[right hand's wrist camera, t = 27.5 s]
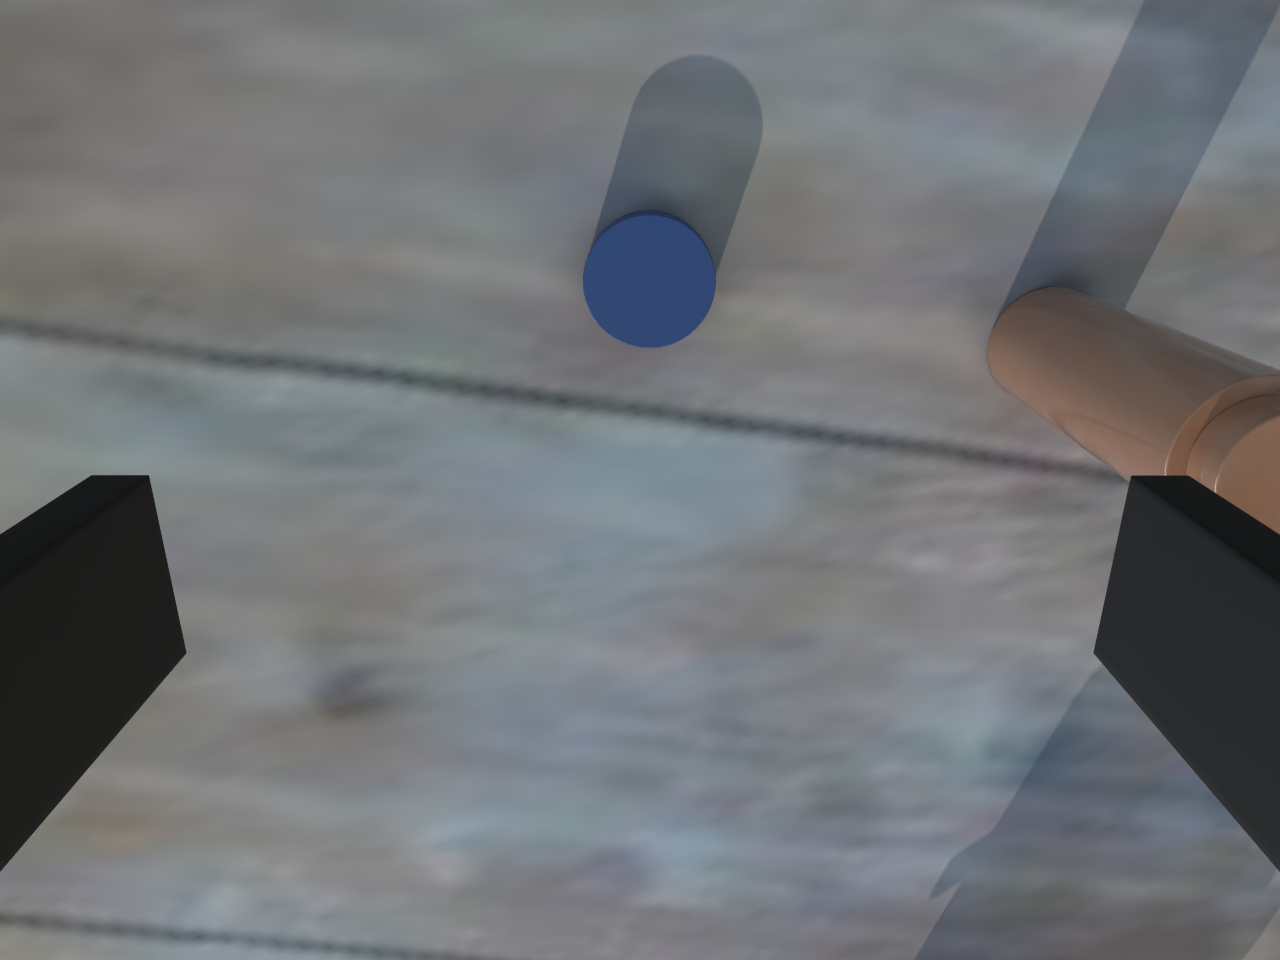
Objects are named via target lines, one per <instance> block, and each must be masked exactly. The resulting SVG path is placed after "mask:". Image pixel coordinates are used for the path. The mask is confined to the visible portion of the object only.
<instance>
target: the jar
mask: <svg viewBox="0 0 1280 960" xmlns="http://www.w3.org/2000/svg"><path fill="white" fill-rule="evenodd" d="M988 362H989V367H990V369H991V372H992V374H993V376H994V378H995V380H996V381H997V383H998V384H999V385H1000V386H1001V387H1002V388H1003V389H1004V390H1005V391H1007V392H1008V393H1009V394H1011V395H1012V396H1013V397H1015V398H1016V399H1017V400H1019V401H1020V402H1022V403H1023V404H1024V405H1026V406H1027V407H1028V408H1030V409H1031V410H1032V411H1034V412H1035V413H1036V414H1038V415H1039V416H1041V417H1042V418H1043V419H1045V420H1046V421H1047V422H1049V423H1050V424H1051V425H1053V426H1054V427H1055V428H1057V429H1058V430H1059V431H1061V432H1062V433H1064V434H1065V435H1066V436H1068V437H1069V438H1070V439H1072V440H1073V441H1074V442H1076V443H1077V444H1078V445H1080V446H1081V447H1082V448H1084V449H1085V450H1087V451H1088V452H1089V453H1091V454H1092V455H1093V456H1095V457H1096V458H1097V459H1099V460H1100V461H1101V462H1103V463H1104V464H1105V465H1107V466H1108V467H1110V468H1111V469H1112V470H1114V471H1115V472H1116V473H1118V474H1119V475H1120V476H1122V477H1123V478H1124V479H1126V480H1127V481H1128V482H1130V478H1131V475H1189V476H1190V477H1192V478H1193V479H1195V480H1196V481H1198V482H1199V483H1201V484H1203V485H1204V486H1206V487H1207V488H1209V489H1210V490H1212V491H1213V492H1215V493H1216V494H1218V495H1220V496H1221V497H1223V498H1224V499H1226V500H1227V501H1229V502H1230V503H1232V504H1233V505H1235V506H1237V507H1238V508H1240V509H1241V510H1243V511H1244V512H1246V513H1247V514H1249V515H1250V516H1252V517H1254V518H1255V519H1257V520H1258V521H1260V522H1261V523H1263V524H1264V525H1266V526H1267V527H1269V528H1271V529H1272V530H1274V531H1275V532H1277V533H1278V534H1280V370H1279V369H1276V368H1274V367H1271V366H1269V365H1266V364H1263V363H1261V362H1258V361H1256V360H1253V359H1251V358H1248V357H1245V356H1243V355H1240V354H1238V353H1235V352H1233V351H1230V350H1228V349H1225V348H1222V347H1220V346H1217V345H1215V344H1212V343H1210V342H1207V341H1204V340H1202V339H1199V338H1197V337H1194V336H1192V335H1189V334H1186V333H1184V332H1181V331H1179V330H1176V329H1174V328H1171V327H1168V326H1166V325H1163V324H1161V323H1158V322H1156V321H1153V320H1151V319H1148V318H1145V317H1143V316H1140V315H1138V314H1135V313H1133V312H1130V311H1127V310H1125V309H1122V308H1120V307H1117V306H1115V305H1112V304H1109V303H1107V302H1104V301H1102V300H1099V299H1097V298H1094V297H1091V296H1089V295H1086V294H1084V293H1081V292H1079V291H1076V290H1073V289H1070V288H1065V287H1047V288H1041V289H1038V290H1035V291H1032V292H1030V293H1028V294H1025V295H1024V296H1022V297H1020V298H1019V299H1017V300H1016V301H1015V302H1013V303H1012V304H1011V305H1010V306H1009V307H1008V308H1007V309H1006V310H1005V311H1004V312H1003V313H1002V315H1001V316H1000V317H999V319H998V321H997V322H996V324H995V326H994V328H993V330H992V333H991V336H990V339H989V344H988Z"/></svg>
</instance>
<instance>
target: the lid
mask: <svg viewBox="0 0 1280 960" xmlns="http://www.w3.org/2000/svg"><path fill="white" fill-rule="evenodd" d="M715 284H716V280H715V270H714V264H713V261H712V258H711V255H710V253H709V251H708V249H707V247H706V245H705V243H704V242H703V240H702V239H701V237H700V236H699V235H698V233H697V232H696V231H695V230H694V229H693V228H692V227H691V226H690V225H689V224H687V223H686V222H684V221H683V220H681V219H680V218H678V217H675V216H673V215H671V214H668V213H664V212H659V211H639V212H635V213H631V214H628V215H625V216H623V217H621V218H619V219H617V220H615V221H614V222H613V223H611V224H610V225H609V226H607V227H606V228H605V229H604V230H603V231H602V232H601V234H600V235H599V236H598V237H597V239H596V241H595V242H594V244H593V246H592V248H591V250H590V252H589V255H588V258H587V261H586V264H585V268H584V275H583V287H584V295H585V299H586V302H587V305H588V308H589V310H590V312H591V314H592V316H593V317H594V319H595V320H596V322H597V323H598V324H599V325H600V326H601V328H602V329H603V330H604V331H606V332H607V333H608V334H609V335H610V336H612V337H613V338H615V339H617V340H618V341H621V342H623V343H625V344H628V345H631V346H635V347H640V348H659V347H663V346H668V345H670V344H673V343H676V342H678V341H680V340H682V339H683V338H685V337H686V336H688V335H689V334H690V333H692V332H693V331H694V330H695V329H696V328H697V327H698V326H699V325H700V324H701V322H702V321H703V319H704V318H705V316H706V315H707V313H708V311H709V309H710V307H711V304H712V301H713V297H714V293H715Z"/></svg>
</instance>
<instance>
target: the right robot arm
mask: <svg viewBox="0 0 1280 960" xmlns="http://www.w3.org/2000/svg"><path fill="white" fill-rule="evenodd" d="M185 654H186V649H185V644H184V639H183V634H182V630H181V625H180V620H179V616H178V611H177V606H176V601H175V597H174V592H173V587H172V582H171V578H170V573H169V568H168V564H167V559H166V554H165V549H164V545H163V540H162V535H161V530H160V526H159V521H158V516H157V512H156V507H155V502H154V497H153V493H152V488H151V483H150V478H149V475H91V476H90V477H88V478H87V479H85V480H84V481H82V482H81V483H79V484H77V485H76V486H74V487H73V488H71V489H70V490H68V491H67V492H65V493H64V494H62V495H60V496H59V497H57V498H56V499H54V500H53V501H51V502H50V503H48V504H47V505H45V506H43V507H42V508H40V509H39V510H37V511H36V512H34V513H33V514H31V515H30V516H28V517H26V518H25V519H23V520H22V521H20V522H19V523H17V524H16V525H14V526H13V527H11V528H9V529H8V530H6V531H5V532H3V533H2V534H0V871H1V870H2V869H3V868H4V867H5V865H6V864H7V863H8V862H9V861H10V860H11V858H12V857H13V856H14V855H15V854H16V853H17V851H18V850H19V849H20V848H21V847H22V845H23V844H24V843H25V842H26V841H27V840H28V838H29V837H30V836H31V835H32V834H33V833H34V831H35V830H36V829H37V828H38V827H39V826H40V824H41V823H42V822H43V821H44V820H45V818H46V817H47V816H48V815H49V814H50V813H51V811H52V810H53V809H54V808H55V807H56V806H57V804H58V803H59V802H60V801H61V800H62V799H63V797H64V796H65V795H66V794H67V793H68V791H69V790H70V789H71V788H72V787H73V786H74V784H75V783H76V782H77V781H78V780H79V779H80V777H81V776H82V775H83V774H84V773H85V772H86V770H87V769H88V768H89V767H90V766H91V764H92V763H93V762H94V761H95V760H96V759H97V757H98V756H99V755H100V754H101V753H102V752H103V750H104V749H105V748H106V747H107V746H108V745H109V743H110V742H111V741H112V740H113V739H114V737H115V736H116V735H117V734H118V733H119V732H120V730H121V729H122V728H123V727H124V726H125V725H126V723H127V722H128V721H129V720H130V719H131V718H132V716H133V715H134V714H135V713H136V712H137V710H138V709H139V708H140V707H141V706H142V705H143V703H144V702H145V701H146V700H147V699H148V698H149V696H150V695H151V694H152V693H153V692H154V691H155V689H156V688H157V687H158V686H159V685H160V683H161V682H162V681H163V680H164V679H165V678H166V676H167V675H168V674H169V673H170V672H171V671H172V669H173V668H174V667H175V666H176V665H177V664H178V662H179V661H180V660H181V659H182V658H183V656H184V655H185ZM1094 654H1095V655H1096V656H1097V658H1098V659H1099V660H1100V661H1101V662H1102V664H1103V665H1104V666H1105V667H1106V668H1107V669H1108V671H1109V672H1110V673H1111V674H1112V675H1113V676H1114V678H1115V679H1116V680H1117V681H1118V682H1119V683H1120V685H1121V686H1122V687H1123V688H1124V689H1125V691H1126V692H1127V693H1128V694H1129V695H1130V696H1131V698H1132V699H1133V700H1134V701H1135V702H1136V703H1137V705H1138V706H1139V707H1140V708H1141V709H1142V710H1143V712H1144V713H1145V714H1146V715H1147V716H1148V718H1149V719H1150V720H1151V721H1152V722H1153V723H1154V725H1155V726H1156V727H1157V728H1158V729H1159V730H1160V732H1161V733H1162V734H1163V735H1164V736H1165V737H1166V739H1167V740H1168V741H1169V742H1170V743H1171V745H1172V746H1173V747H1174V748H1175V749H1176V750H1177V752H1178V753H1179V754H1180V755H1181V756H1182V757H1183V759H1184V760H1185V761H1186V762H1187V763H1188V764H1189V766H1190V767H1191V768H1192V769H1193V770H1194V772H1195V773H1196V774H1197V775H1198V776H1199V777H1200V779H1201V780H1202V781H1203V782H1204V783H1205V784H1206V786H1207V787H1208V788H1209V789H1210V790H1211V791H1212V793H1213V794H1214V795H1215V796H1216V797H1217V799H1218V800H1219V801H1220V802H1221V803H1222V804H1223V806H1224V807H1225V808H1226V809H1227V810H1228V811H1229V813H1230V814H1231V815H1232V816H1233V817H1234V818H1235V820H1236V821H1237V822H1238V823H1239V824H1240V826H1241V827H1242V828H1243V829H1244V830H1245V831H1246V833H1247V834H1248V835H1249V836H1250V837H1251V838H1252V840H1253V841H1254V842H1255V843H1256V844H1257V845H1258V847H1259V848H1260V849H1261V850H1262V851H1263V853H1264V854H1265V855H1266V856H1267V857H1268V858H1269V860H1270V861H1271V862H1272V863H1273V864H1274V865H1275V867H1276V868H1277V869H1278V870H1279V871H1280V534H1278V533H1277V532H1275V531H1274V530H1272V529H1271V528H1269V527H1267V526H1266V525H1264V524H1263V523H1261V522H1260V521H1258V520H1257V519H1255V518H1254V517H1252V516H1250V515H1249V514H1247V513H1246V512H1244V511H1243V510H1241V509H1240V508H1238V507H1237V506H1235V505H1233V504H1232V503H1230V502H1229V501H1227V500H1226V499H1224V498H1223V497H1221V496H1220V495H1218V494H1216V493H1215V492H1213V491H1212V490H1210V489H1209V488H1207V487H1206V486H1204V485H1203V484H1201V483H1199V482H1198V481H1196V480H1195V479H1193V478H1192V477H1190V476H1189V475H1131V478H1130V483H1129V488H1128V493H1127V497H1126V502H1125V507H1124V512H1123V516H1122V521H1121V526H1120V530H1119V535H1118V540H1117V545H1116V549H1115V554H1114V559H1113V564H1112V568H1111V573H1110V578H1109V582H1108V587H1107V592H1106V597H1105V601H1104V606H1103V611H1102V616H1101V620H1100V625H1099V630H1098V634H1097V639H1096V644H1095V649H1094Z"/></svg>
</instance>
